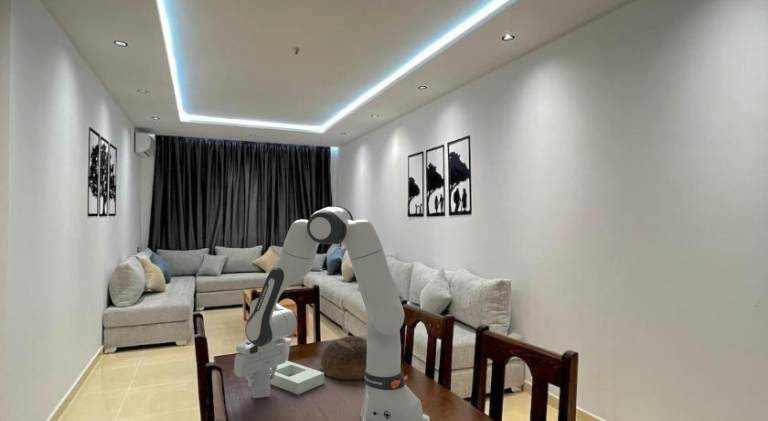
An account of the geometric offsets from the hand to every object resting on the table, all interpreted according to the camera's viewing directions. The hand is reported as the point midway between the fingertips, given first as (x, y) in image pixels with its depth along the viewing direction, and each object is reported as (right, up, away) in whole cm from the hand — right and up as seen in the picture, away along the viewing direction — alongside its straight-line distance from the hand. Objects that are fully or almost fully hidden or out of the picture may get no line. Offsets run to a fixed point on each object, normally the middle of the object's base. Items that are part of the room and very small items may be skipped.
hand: (261, 382), depth 154 cm
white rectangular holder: (+7, -5, +13) cm, 16 cm away
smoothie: (0, -5, +34) cm, 34 cm away
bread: (+30, -6, +26) cm, 41 cm away
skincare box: (0, -5, 0) cm, 5 cm away
